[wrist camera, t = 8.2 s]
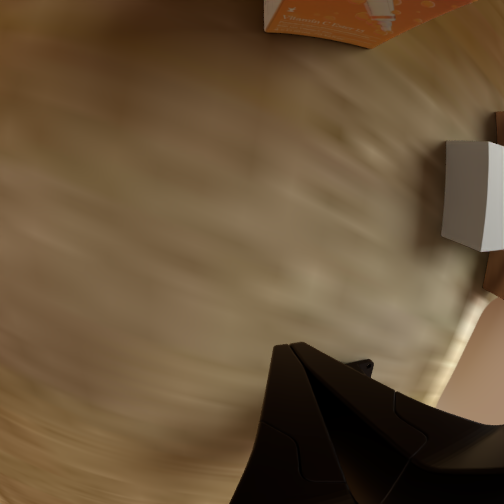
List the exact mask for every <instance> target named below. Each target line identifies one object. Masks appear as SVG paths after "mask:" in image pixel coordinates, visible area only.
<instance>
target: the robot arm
mask: <svg viewBox="0 0 504 504" xmlns="http://www.w3.org/2000/svg"><path fill="white" fill-rule="evenodd" d="M368 364H369V365H368ZM367 365H368V366H367ZM373 366H374V363H373V362H372V360H370V359H367V360H363V361H358V362H353V363H349V364H343V363H341V362H339V361H337V360H336V359H334V358H332V357H330V356H328V355H326V354H325V353H323V352H321V351H319V350H317V349H315V348H314V347H312V346H310V345H308V344H306V343H304V342H297V343H291V344H289V345H288V344H283V345H275V346H274V347H273V352H272V358H271V363H270V369H269V374H268V380H267V385H266V390H265V396H264V401H263V406H262V411H261V416H260V423H259V425H258V430H257V435H256V439H255V443H254V446H253V450H252V453H251V455H250V458H249V461H248V463H247V466H246V468H245V470H244V473H243V475H242V477H241V479H240V482H239V484H238V486H237V488H236V490H235V493H234V495H233V497H232V499H231V501H230V503H229V504H504V425H485V424H481V423H478V422H474V421H471V420H468V419H465V418H462V417H459V416H456V415H453V414H450V413H447V412H444V411H442V410H439V409H436V408H434V407H431V406H428V405H426V404H423V403H421V402H419V401H417V400H414V399H412V398H410V397H408V396H406V395H404V394H402V393H400V392H398V391H397V392H395V390H393V389H391V388H389V387H387V386H385V385H383V384H382V383H380V382H378V381H376V380H374V379H372V378H371V374H372V370H373Z"/></svg>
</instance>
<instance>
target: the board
mask: <svg viewBox="0 0 504 504" xmlns="http://www.w3.org/2000/svg"><path fill="white" fill-rule="evenodd" d="M496 125H497V144H498V145H501V146H504V111H503V112H496ZM482 288H484V289H486V290H487V291H489V292H491V293H493V294H495V295H496V296H498V297H500V298H502V299H503V300H504V249H503V250H494V251H490V252H489V258H488V263H487V268H486V273H485V278H484V283H483V287H482Z"/></svg>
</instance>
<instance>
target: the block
mask: <svg viewBox="0 0 504 504" xmlns="http://www.w3.org/2000/svg"><path fill="white" fill-rule="evenodd" d="M441 236H442V237H445V238H447V239H450V240H452V241H455V242H457V243H460V244H462V245H465V246H467V247H470V248H472V249H475V250H477V251H479V252H485V251H494V250H503V249H504V146H501V145H498V144H495V143H492V142H489V141H446V181H445V199H444V211H443V222H442V231H441Z"/></svg>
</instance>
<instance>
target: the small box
mask: <svg viewBox="0 0 504 504" xmlns="http://www.w3.org/2000/svg"><path fill="white" fill-rule="evenodd" d="M475 1H478V0H264V31H265V32H271V33H288V34H297V35H305V36H312V37H319V38H325V39H330V40H335V41H340V42H344V43H349V44H353V45H357V46H361V47H365V48H369V49H372V48H374V47H376V46H378V45H380V44H382V43H384V42H386V41H388V40H389V39H391V38H393V37H396V36H397V35H399V34H401V33H403V32H405V31H407V30H409V29H412V28H414V27H416V26H418V25H420V24H422V23H424V22H427V21H429V20H431V19H433V18H435V17H438V16H440V15H443V14H445V13H447V12H450V11H452V10H454V9H457V8H459V7H462V6H465V5H467V4H470V3H472V2H475Z"/></svg>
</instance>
